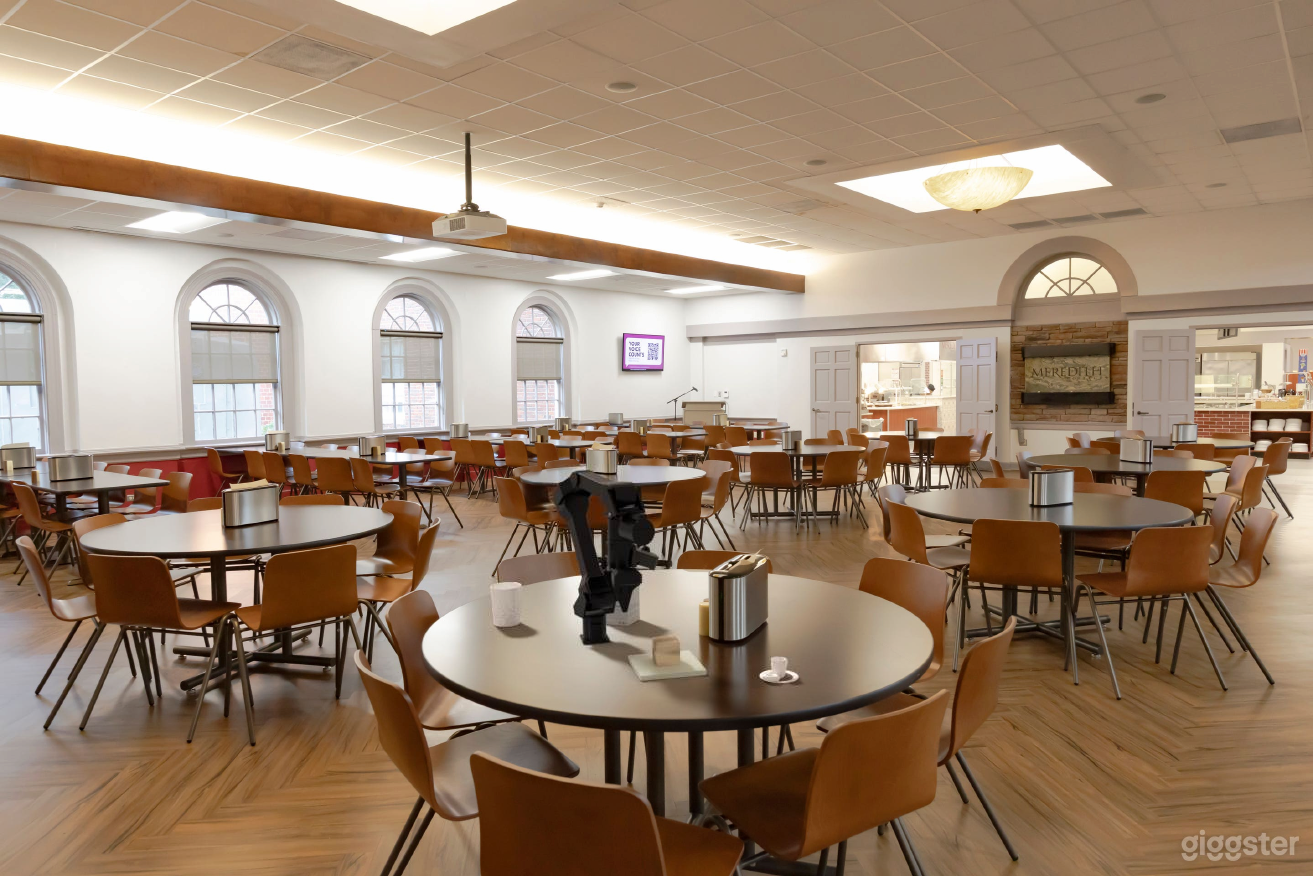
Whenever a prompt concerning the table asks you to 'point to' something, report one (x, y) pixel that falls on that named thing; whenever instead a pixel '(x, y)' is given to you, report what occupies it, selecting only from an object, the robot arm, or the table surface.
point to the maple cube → (666, 651)
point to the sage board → (666, 667)
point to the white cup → (506, 603)
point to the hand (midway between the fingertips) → (621, 606)
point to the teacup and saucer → (778, 671)
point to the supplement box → (629, 616)
